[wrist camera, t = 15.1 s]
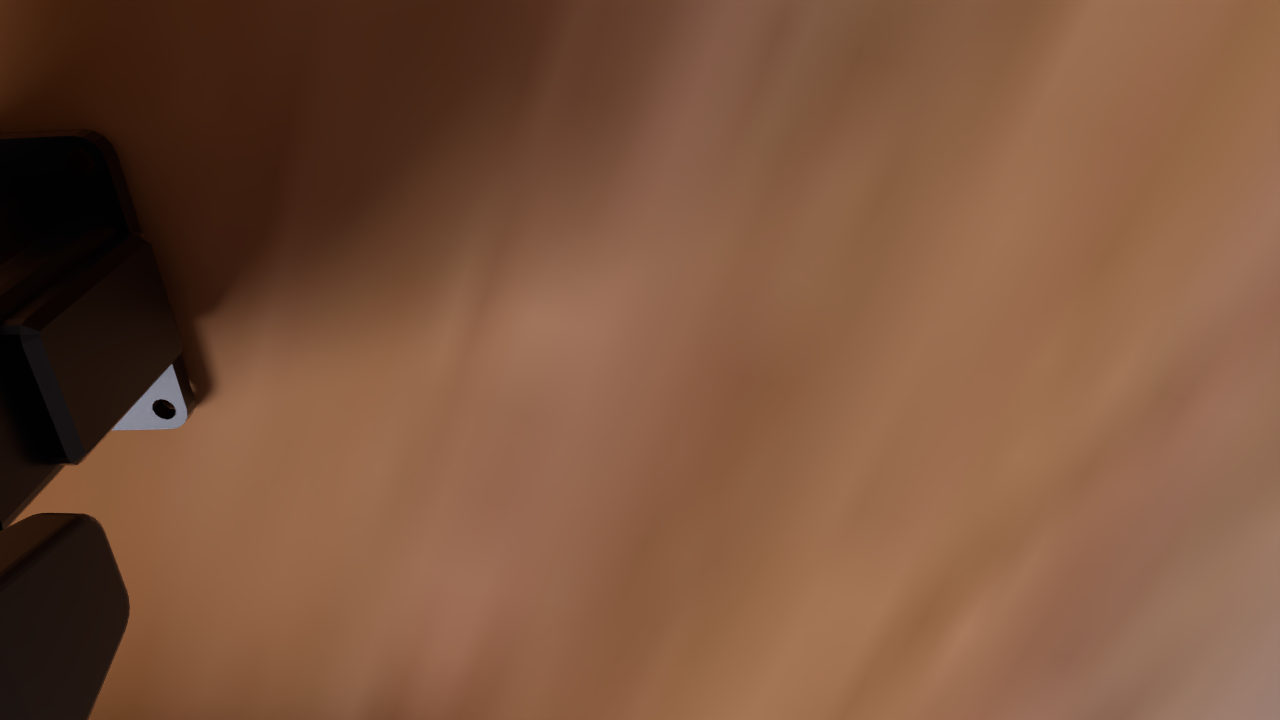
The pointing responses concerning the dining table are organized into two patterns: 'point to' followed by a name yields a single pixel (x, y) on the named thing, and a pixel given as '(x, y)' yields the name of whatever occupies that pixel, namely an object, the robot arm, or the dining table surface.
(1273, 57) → the dining table surface
